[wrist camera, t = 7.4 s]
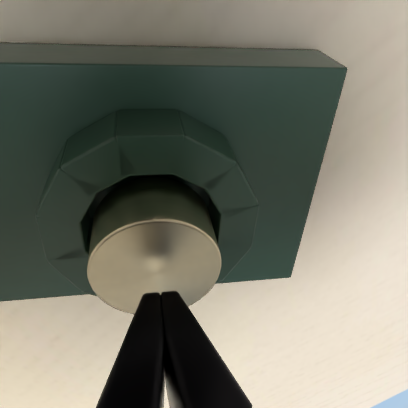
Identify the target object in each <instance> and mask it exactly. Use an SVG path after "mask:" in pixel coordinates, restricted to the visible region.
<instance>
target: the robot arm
mask: <svg viewBox="0 0 408 408" xmlns="http://www.w3.org/2000/svg"><path fill="white" fill-rule="evenodd" d="M165 383H166V389H167V395H168V400H169V406H170V408H252V404H251V403H250V401H249V400H248V398H247V397H246V395H245V393H244V392H243V390H242V389H241V387H240V386H239V384H238V383H237V381H236V380H235V378H234V377H233V375H232V374H231V372H230V371H229V369H228V367H227V366H226V364H225V363H224V361H223V360H222V358H221V357H220V355H219V354H218V352H217V351H216V349H215V348H214V346H213V344H212V343H211V341H210V340H209V338H208V337H207V335H206V334H205V332H204V331H203V329H202V328H201V326H200V325H199V323H198V322H197V320H196V318H195V317H194V315H193V314H192V312H191V311H190V309H189V308H188V306H187V305H186V303H185V302H184V300H183V299H182V297H181V296H180V294H179V293H178V292H177V291H165V292H162V293H161V296H160V293H158V292H153V293H145V294H143V296H142V297H141V300H140V302H139V305H138V307H137V310H136V312H135V314H134V317H133V319H132V322H131V324H130V327H129V329H128V331H127V334H126V336H125V339H124V341H123V343H122V346H121V348H120V351H119V353H118V356H117V358H116V360H115V363H114V365H113V368H112V370H111V372H110V375H109V377H108V380H107V382H106V385H105V387H104V389H103V392H102V394H101V397H100V399H99V401H98V404H97V406H96V408H164V387H165Z"/></svg>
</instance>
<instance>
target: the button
mask: <svg viewBox="0 0 408 408" xmlns="http://www.w3.org/2000/svg"><path fill="white" fill-rule="evenodd" d="M220 270H221V254H220V250H219V247H218V243H217V240H216V236H215V233H214V229H213V226H212V222H211V219H210V215H209V212H208V209H207V206H206V204H205V203H204V201H203V200H202V198H201V197H200V196H199V195H198V194H197V193H196V192H195V191H194V190H192V189H191V188H190V187H188V186H186V185H184V184H183V183H180V182H178V181H175V180H171V179H167V178H159V177H150V178H141V179H136V180H133V181H130V182H127V183H125V184H122V185H120V186H119V187H117V188H115V189H114V190H112V191H111V192H110V193H109V194H108V195H106V197H105V198H104V199H103V200H102V201H101V202H100V204H99V205H98V207H97V209H96V211H95V214H94V217H93V225H92V233H91V241H90V249H89V257H88V265H87V276H88V280H89V283H90V285H91V287H92V289H93V291H94V292H95V294H96V295H97V296H98V297H99V298H100V299H101V300H102V301H104V302H105V303H106V304H108V305H110V306H111V307H113V308H115V309H118V310H120V311H123V312H127V313H131V314H135V312H136V310H137V307H138V305H139V302H140V300H141V297H142V296H143V294H145V293H153V292H158V293H160V296H161V293H162V292H165V291H177V292H178V293H179V294H180V296H181V297H182V299H183V300H184V302H185V303H186V305H187V306H190V305H192V304H194V303H195V302H197V301H198V300H200V299H201V298H202V297H204V296H205V295H206V294H207V293H208V292H209V291H210V290H211V289H212V287H213V286H214V284H215V283H216V281H217V279H218V277H219V274H220Z"/></svg>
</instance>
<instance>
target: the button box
mask: <svg viewBox="0 0 408 408" xmlns="http://www.w3.org/2000/svg"><path fill="white" fill-rule="evenodd" d="M346 73H347V68H346V67H345V66H343V65H342V64H340V63H338V62H337V61H335V60H334V59H332V58H330V57H329V56H327V55H326V54H324V53H322V52H321V51H319V50H301V49H256V48H211V47H167V46H122V45H77V44H33V43H0V301H12V300H24V299H36V298H48V297H60V296H72V295H84V294H91V295H95V296H97V295H96V294H95V292H94V291H93V289H92V287H91V285H90V283H89V280H88V276H87V265H88V257H89V249H90V241H91V233H92V225H93V217H94V214H95V211H96V209H97V207H98V205H99V204H100V202H101V201H102V200H103V199H104V198H105V197H106V195H108V194H109V193H110V192H111V191H112V190H114V189H115V188H117V187H119V186H120V185H122V184H125V183H127V182H130V181H133V180H136V179H141V178H150V177H159V178H167V179H171V180H175V181H178V182H180V183H183V184H184V185H186V186H188V187H190V188H191V189H192V190H194V191H195V192H196V193H197V194H198V195H199V196H200V197H201V198H202V200H203V201H204V203H205V204H206V206H207V209H208V212H209V215H210V219H211V222H212V226H213V229H214V233H215V236H216V240H217V243H218V247H219V250H220V254H221V270H220V274H219V277H218V279H217V281H216V283H215V284H217V283H229V282H241V281H253V280H265V279H277V278H289V277H291V274H292V271H293V267H294V263H295V260H296V256H297V252H298V249H299V245H300V241H301V238H302V234H303V230H304V227H305V223H306V219H307V216H308V212H309V208H310V205H311V201H312V197H313V194H314V190H315V186H316V183H317V179H318V175H319V172H320V168H321V164H322V161H323V157H324V153H325V150H326V146H327V142H328V139H329V135H330V131H331V128H332V124H333V120H334V117H335V113H336V109H337V106H338V102H339V98H340V95H341V91H342V87H343V84H344V80H345V76H346Z"/></svg>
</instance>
